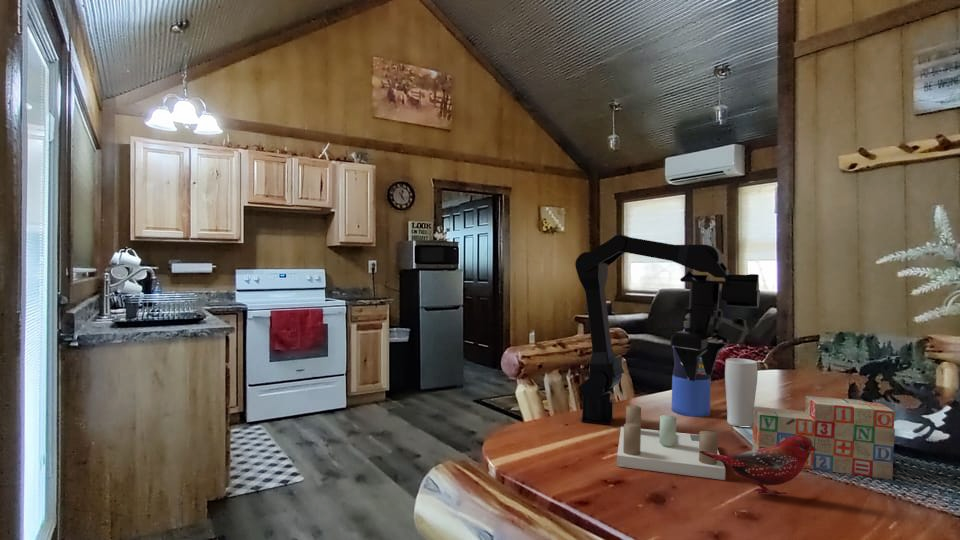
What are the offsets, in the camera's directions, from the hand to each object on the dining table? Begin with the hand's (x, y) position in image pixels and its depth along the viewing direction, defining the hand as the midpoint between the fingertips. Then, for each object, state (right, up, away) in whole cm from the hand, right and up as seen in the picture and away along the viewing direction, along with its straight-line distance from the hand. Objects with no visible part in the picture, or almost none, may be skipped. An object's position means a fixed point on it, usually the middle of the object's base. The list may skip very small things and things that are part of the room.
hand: (700, 377), depth 112 cm
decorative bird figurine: (-2, -14, -27) cm, 30 cm away
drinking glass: (+13, -13, +11) cm, 22 cm away
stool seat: (-11, -13, -10) cm, 20 cm away
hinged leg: (-10, -11, -7) cm, 16 cm away
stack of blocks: (+16, -14, -13) cm, 25 cm away
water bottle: (+6, -13, +21) cm, 26 cm away
